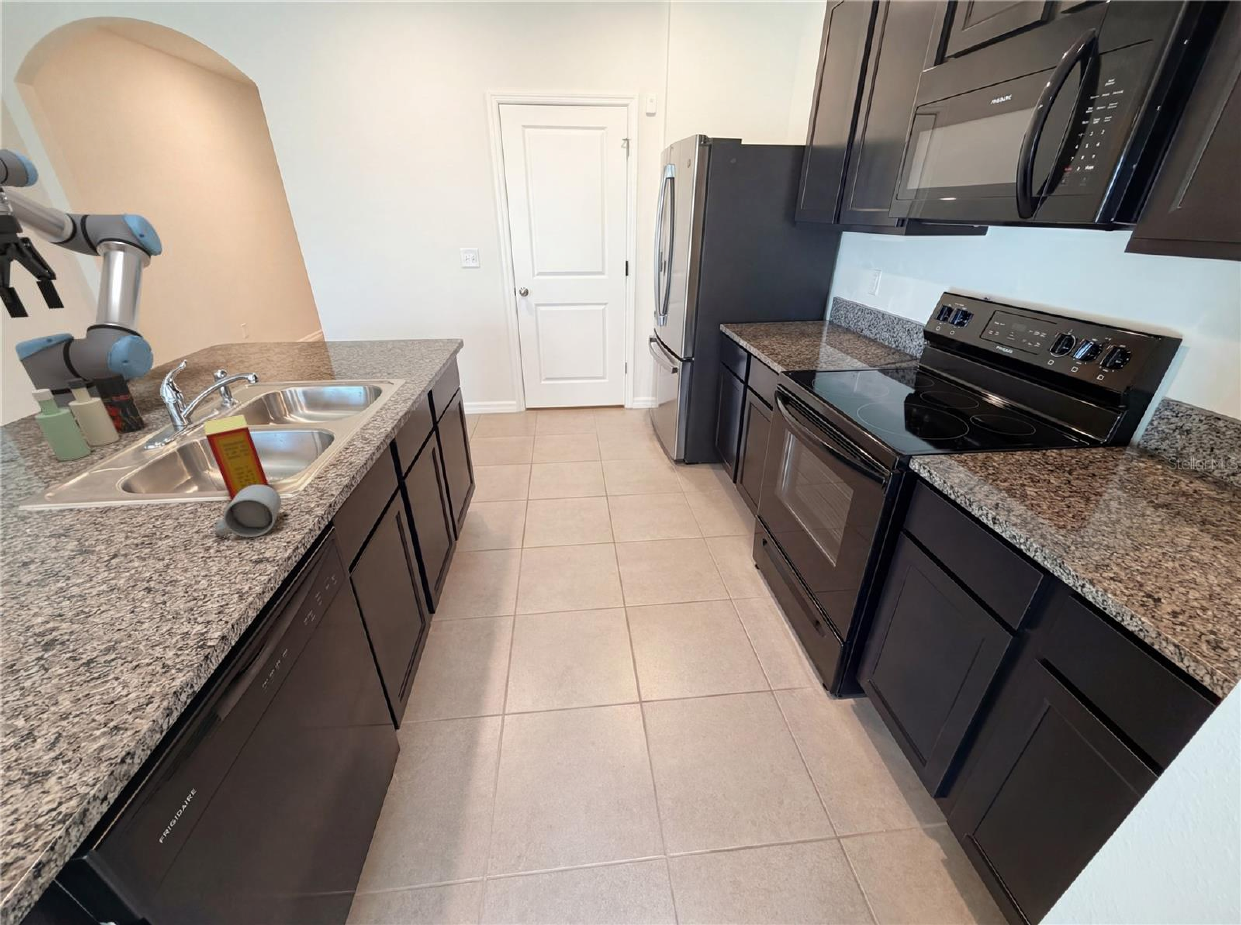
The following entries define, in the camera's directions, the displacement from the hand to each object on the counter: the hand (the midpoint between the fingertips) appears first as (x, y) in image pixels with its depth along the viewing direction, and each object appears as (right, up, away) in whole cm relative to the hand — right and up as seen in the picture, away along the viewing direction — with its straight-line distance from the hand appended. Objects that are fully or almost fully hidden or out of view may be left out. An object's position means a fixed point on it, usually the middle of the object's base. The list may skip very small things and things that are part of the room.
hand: (39, 312), depth 121 cm
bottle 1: (+7, -34, +2) cm, 35 cm away
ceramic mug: (+71, -48, -28) cm, 91 cm away
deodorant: (+5, -27, +17) cm, 33 cm away
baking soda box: (+63, -43, -16) cm, 78 cm away
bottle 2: (+6, -31, +10) cm, 33 cm away
